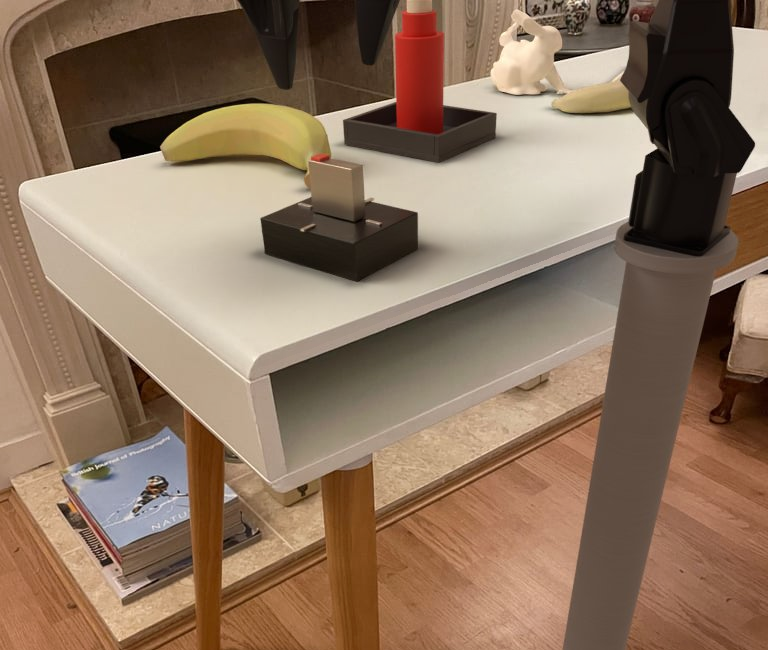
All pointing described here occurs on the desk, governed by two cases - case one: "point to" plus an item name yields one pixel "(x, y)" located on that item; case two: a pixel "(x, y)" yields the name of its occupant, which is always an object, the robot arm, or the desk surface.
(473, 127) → the tray
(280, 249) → the black rectangular block
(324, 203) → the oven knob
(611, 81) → the pale wooden rod
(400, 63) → the ketchup bottle
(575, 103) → the fruit
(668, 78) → the robot arm
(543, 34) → the rabbit figurine
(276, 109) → the banana
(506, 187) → the desk surface
